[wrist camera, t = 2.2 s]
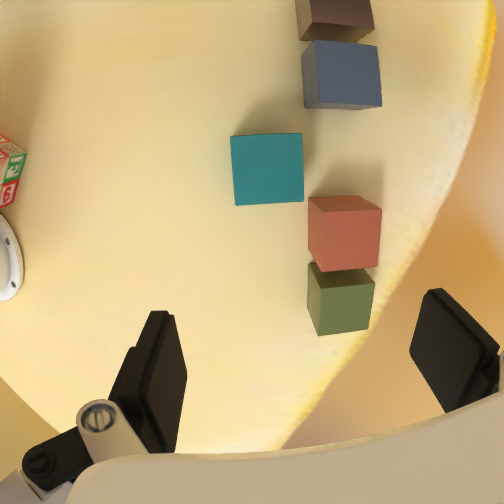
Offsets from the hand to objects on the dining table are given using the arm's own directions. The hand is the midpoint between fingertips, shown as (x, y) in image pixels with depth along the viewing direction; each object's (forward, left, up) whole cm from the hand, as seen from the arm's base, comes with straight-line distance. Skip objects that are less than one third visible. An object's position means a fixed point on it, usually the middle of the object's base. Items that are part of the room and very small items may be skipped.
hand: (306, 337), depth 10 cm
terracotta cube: (+6, +3, -18) cm, 19 cm away
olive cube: (+10, -1, -18) cm, 21 cm away
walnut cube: (-8, +17, -18) cm, 26 cm away
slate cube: (-4, +13, -18) cm, 22 cm away
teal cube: (-3, +3, -18) cm, 18 cm away
